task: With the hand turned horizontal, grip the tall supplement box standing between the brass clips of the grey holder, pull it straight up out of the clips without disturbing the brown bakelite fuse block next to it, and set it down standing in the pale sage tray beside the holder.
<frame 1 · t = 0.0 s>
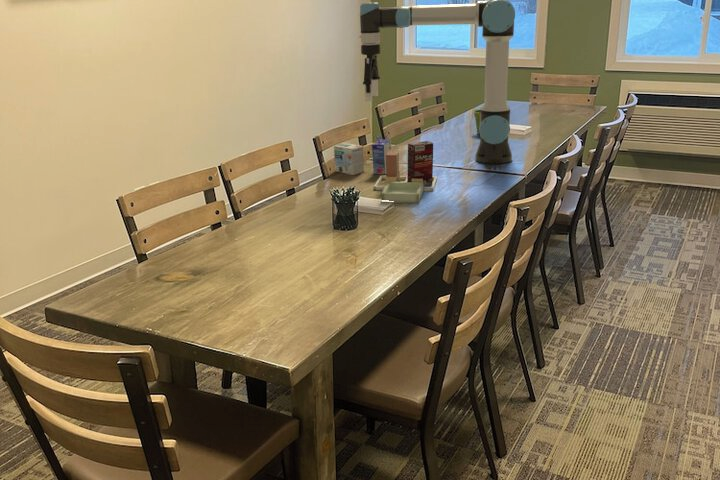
hand: (371, 98, 276), 28 cm above the table, tool pointing down, fingers open, 13 cm apart
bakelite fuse: (392, 184, 258), resting in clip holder
plant pot: (484, 133, 340), on the table
supplement box: (420, 185, 256), resting in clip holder
tray: (402, 196, 242), on the table
ink cartridge box: (382, 171, 277), on the table
light bulb box: (349, 172, 279), on the table
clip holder: (405, 184, 257), on the table
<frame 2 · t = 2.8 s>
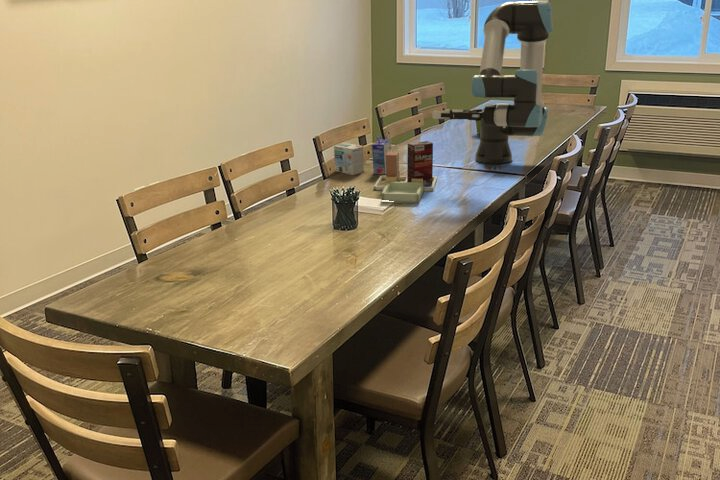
hand: (439, 113, 249), 26 cm above the table, tool horizontal, fingers open, 13 cm apart
nothing on the table moved.
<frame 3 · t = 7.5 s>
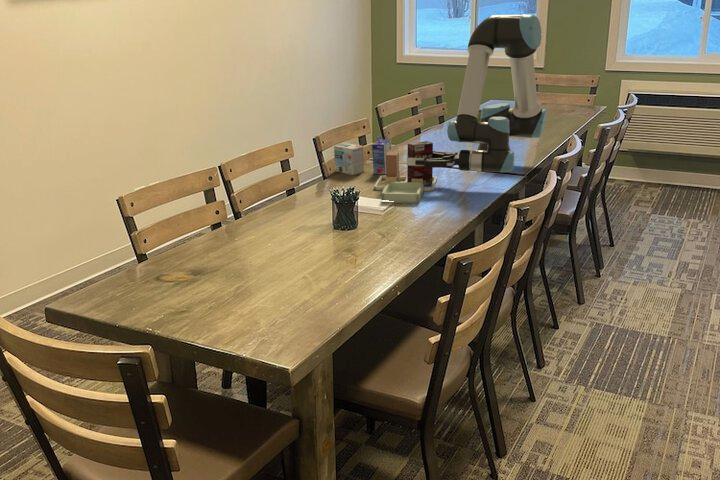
hand: (409, 158, 254), 10 cm above the table, tool horizontal, fingers closed on supplement box, 9 cm apart
supplement box: (420, 185, 256), resting in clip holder, touching gripper
everything else where it was.
when the fingers open (12 cm above the table, at t = 13.6 s): supplement box drops 1 cm, resting on tray.
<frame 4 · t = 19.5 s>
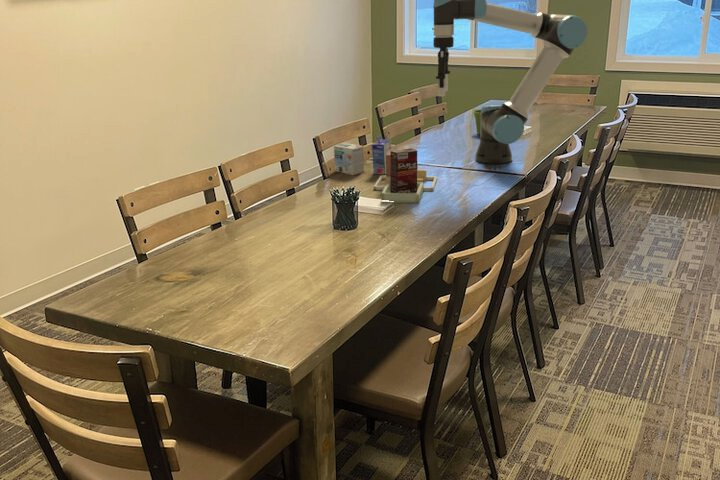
hand: (443, 93, 264), 31 cm above the table, tool pointing down, fingers open, 13 cm apart
supplement box: (404, 195, 242), point 1 cm above the table, touching tray
everything else where it was.
at the end: supplement box inside the target area on the tray (0.4 cm from its centre), point 0.6 cm above the tray's base; supplement box tilted 0°; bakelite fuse moved 0.0 cm from its start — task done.
